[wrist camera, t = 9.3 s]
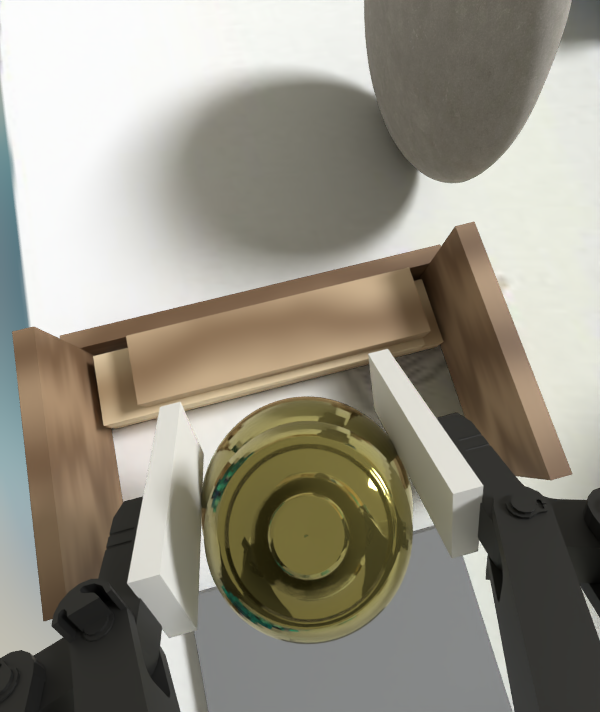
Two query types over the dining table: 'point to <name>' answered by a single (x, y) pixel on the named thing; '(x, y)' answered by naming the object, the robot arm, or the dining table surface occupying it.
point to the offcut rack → (262, 377)
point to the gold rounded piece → (307, 520)
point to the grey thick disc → (459, 76)
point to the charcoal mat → (363, 652)
